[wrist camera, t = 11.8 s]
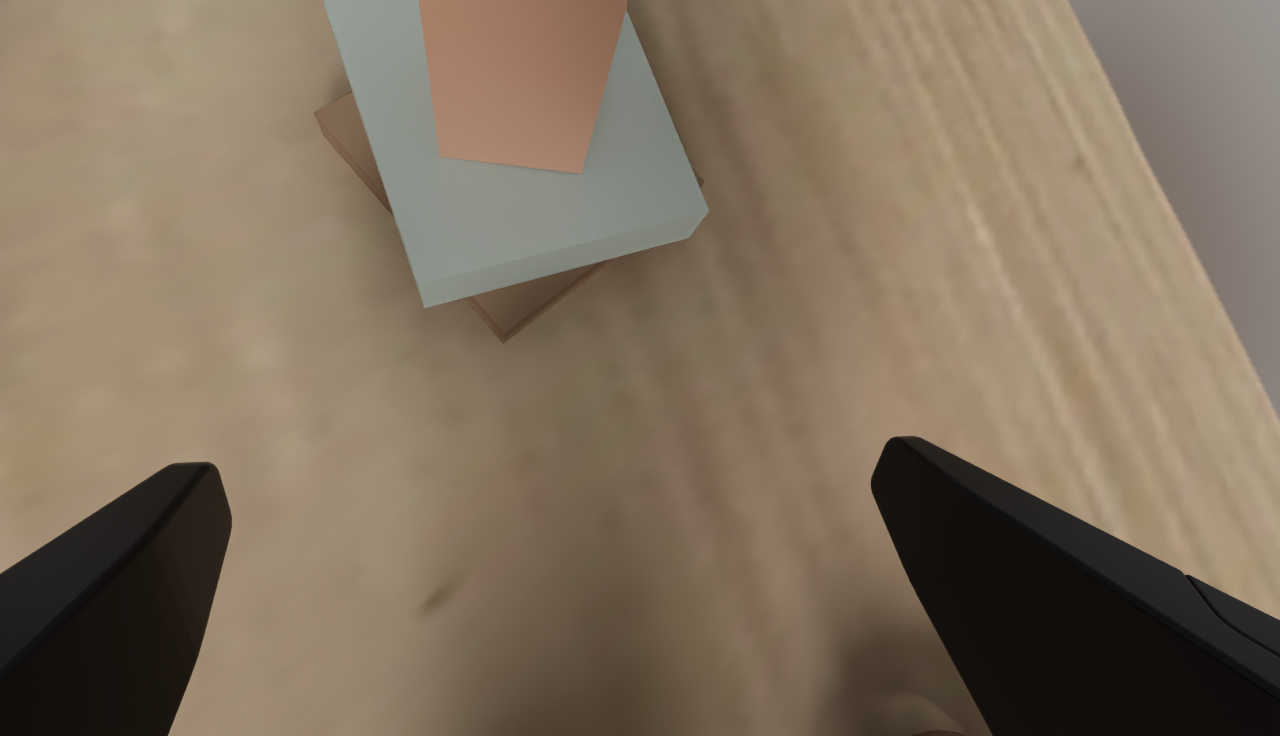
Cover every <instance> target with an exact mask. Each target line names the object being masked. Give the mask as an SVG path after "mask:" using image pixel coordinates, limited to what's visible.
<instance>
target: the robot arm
mask: <svg viewBox="0 0 1280 736" xmlns="http://www.w3.org/2000/svg"><path fill="white" fill-rule="evenodd" d="M871 490H872V494H873V496H874V499H875V501H876V503H877V506H878V508H879V510H880V513H881V515H882V517H883V520H884V522H885V525H886V527H887V529H888V532H889V534H890V536H891V539H892V541H893V543H894V546H895V548H896V551H897V553H898V555H899V558H900V560H901V562H902V565H903V567H904V569H905V572H906V574H907V576H908V578H909V580H910V583H911V584H912V586H913V588H914V590H915V592H916V594H917V596H918V598H919V600H920V602H921V604H922V606H923V607H924V609H925V611H926V613H927V615H928V617H929V618H930V620H931V622H932V624H933V626H934V628H935V630H936V631H937V633H938V635H939V637H940V639H941V641H942V643H943V644H944V646H945V648H946V650H947V652H948V654H949V655H950V657H951V659H952V661H953V663H954V665H955V667H956V668H957V670H958V672H959V674H960V676H961V678H962V680H963V681H964V683H965V685H966V687H967V689H968V691H969V692H970V694H971V696H972V698H973V700H974V702H975V704H976V705H977V707H978V709H979V711H980V713H981V715H982V717H983V718H984V720H985V722H986V724H987V726H988V728H989V730H990V731H991V733H992V735H993V736H1280V620H1278V619H1276V618H1274V617H1272V616H1270V615H1268V614H1266V613H1264V612H1262V611H1260V610H1258V609H1256V608H1254V607H1252V606H1250V605H1248V604H1246V603H1244V602H1242V601H1240V600H1238V599H1236V598H1234V597H1232V596H1230V595H1228V594H1226V593H1224V592H1222V591H1220V590H1218V589H1216V588H1214V587H1212V586H1210V585H1208V584H1206V583H1204V582H1202V581H1200V580H1198V579H1196V578H1194V577H1192V576H1190V575H1184V574H1183V572H1182V571H1180V570H1179V569H1177V568H1175V567H1173V566H1171V565H1169V564H1167V563H1165V562H1163V561H1161V560H1159V559H1157V558H1155V557H1153V556H1151V555H1149V554H1147V553H1145V552H1143V551H1141V550H1139V549H1137V548H1135V547H1133V546H1132V545H1130V544H1128V543H1126V542H1124V541H1122V540H1120V539H1118V538H1116V537H1114V536H1112V535H1110V534H1108V533H1106V532H1104V531H1102V530H1100V529H1098V528H1096V527H1094V526H1092V525H1090V524H1088V523H1087V522H1085V521H1083V520H1081V519H1079V518H1077V517H1075V516H1073V515H1071V514H1069V513H1067V512H1065V511H1063V510H1061V509H1059V508H1057V507H1055V506H1053V505H1051V504H1049V503H1047V502H1045V501H1043V500H1042V499H1040V498H1038V497H1036V496H1034V495H1032V494H1030V493H1028V492H1026V491H1024V490H1022V489H1020V488H1018V487H1016V486H1014V485H1012V484H1010V483H1008V482H1006V481H1004V480H1002V479H1000V478H998V477H996V476H995V475H993V474H991V473H989V472H987V471H985V470H983V469H981V468H979V467H977V466H975V465H973V464H971V463H969V462H967V461H965V460H963V459H961V458H959V457H957V456H955V455H953V454H951V453H950V452H948V451H946V450H944V449H942V448H940V447H938V446H936V445H934V444H932V443H930V442H928V441H926V440H924V439H922V438H920V437H916V436H900V437H893V438H891V439H890V440H889V441H887V443H886V444H885V447H884V449H883V451H882V454H881V456H880V458H879V461H878V463H877V465H876V468H875V470H874V472H873V475H872V478H871ZM231 528H232V515H231V510H230V507H229V504H228V500H227V497H226V494H225V490H224V487H223V483H222V480H221V477H220V473H219V471H218V469H217V467H216V466H215V465H214V464H212V463H210V462H187V463H174V464H170V465H168V466H166V467H165V468H163V469H161V470H160V471H158V472H157V473H155V474H154V475H152V476H151V477H149V478H147V479H146V480H144V481H143V482H141V483H140V484H138V485H137V486H135V487H134V488H132V489H130V490H129V491H127V492H126V493H124V494H123V495H121V496H120V497H118V498H117V499H115V500H113V501H112V502H110V503H109V504H107V505H106V506H104V507H103V508H101V509H100V510H98V511H97V512H95V513H93V514H92V515H90V516H89V517H87V518H86V519H84V520H83V521H81V522H80V523H78V524H76V525H75V526H73V527H72V528H70V529H69V530H67V531H66V532H64V533H63V534H61V535H59V536H58V537H56V538H55V539H53V540H52V541H50V542H49V543H47V544H46V545H44V546H42V547H41V548H39V549H38V550H36V551H35V552H33V553H32V554H30V555H29V556H27V557H25V558H24V559H22V560H21V561H19V562H18V563H16V564H15V565H13V566H12V567H10V568H8V569H7V570H5V571H4V572H2V573H1V574H0V736H168V734H169V731H170V729H171V726H172V724H173V721H174V719H175V716H176V713H177V711H178V708H179V706H180V703H181V701H182V698H183V696H184V693H185V691H186V688H187V685H188V683H189V680H190V678H191V675H192V672H193V669H194V667H195V664H196V661H197V658H198V655H199V652H200V648H201V645H202V641H203V638H204V634H205V630H206V627H207V623H208V619H209V615H210V611H211V607H212V603H213V600H214V596H215V592H216V588H217V584H218V580H219V577H220V573H221V569H222V565H223V561H224V557H225V553H226V550H227V546H228V542H229V538H230V534H231Z"/></svg>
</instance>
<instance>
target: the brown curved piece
mask: <svg viewBox="0 0 1280 736" xmlns="http://www.w3.org/2000/svg"><path fill="white" fill-rule="evenodd" d="M913 736H965V735H962V734H958V733H955V732H948V731H929V732H925V733H921V734H917V735H913Z"/></svg>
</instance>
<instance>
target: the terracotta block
mask: <svg viewBox="0 0 1280 736" xmlns="http://www.w3.org/2000/svg"><path fill="white" fill-rule="evenodd" d="M628 1H629V0H419V6H420V14H421V21H422V29H423V36H424V44H425V51H426V59H427V66H428V73H429V81H430V88H431V96H432V103H433V111H434V118H435V126H436V133H437V140H438V148H439V155H440V157H446V158H454V159H463V160H471V161H479V162H487V163H496V164H504V165H512V166H520V167H529V168H537V169H545V170H553V171H561V172H570V173H578V174H581V173H582V170H583V166H584V162H585V159H586V155H587V151H588V148H589V144H590V140H591V137H592V133H593V129H594V126H595V122H596V118H597V115H598V111H599V107H600V104H601V100H602V96H603V93H604V89H605V85H606V82H607V78H608V74H609V71H610V67H611V63H612V60H613V56H614V52H615V49H616V45H617V41H618V38H619V34H620V30H621V27H622V23H623V19H624V16H625V12H626V8H627V5H628Z"/></svg>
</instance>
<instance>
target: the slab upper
mask: <svg viewBox="0 0 1280 736" xmlns="http://www.w3.org/2000/svg"><path fill="white" fill-rule="evenodd" d="M323 2H324V5H325V9H326V12H327V15H328V18H329V22H330V25H331V28H332V31H333V34H334V38H335V41H336V44H337V47H338V51H339V54H340V57H341V60H342V63H343V66H344V69H345V72H346V75H347V78H348V81H349V83H350V86H351V89H352V92H353V95H354V98H355V101H356V104H357V107H358V110H359V113H360V116H361V119H362V122H363V125H364V128H365V131H366V134H367V137H368V140H369V143H370V146H371V149H372V152H373V155H374V158H375V161H376V164H377V167H378V170H379V173H380V176H381V179H382V182H383V185H384V188H385V191H386V194H387V197H388V200H389V203H390V206H391V209H392V212H393V215H394V218H395V221H396V224H397V227H398V230H399V233H400V236H401V239H402V242H403V245H404V248H405V251H406V254H407V257H408V260H409V263H410V266H411V269H412V272H413V275H414V278H415V281H416V284H417V287H418V290H419V293H420V296H421V299H422V302H423V305H424V308H428V307H432V306H436V305H439V304H443V303H447V302H451V301H454V300H458V299H462V298H466V297H469V296H473V295H477V294H481V293H484V292H488V291H492V290H496V289H499V288H503V287H507V286H511V285H514V284H518V283H522V282H526V281H529V280H533V279H537V278H541V277H544V276H548V275H552V274H556V273H559V272H563V271H567V270H571V269H575V268H578V267H582V266H586V265H590V264H593V263H597V262H601V261H605V260H608V259H612V258H616V257H620V256H623V255H627V254H631V253H635V252H638V251H642V250H646V249H650V248H653V247H657V246H661V245H665V244H668V243H672V242H676V241H680V240H683V239H687V238H689V237H690V236H691V235H692V233H693V232H694V231H695V229H696V228H697V227H698V225H699V224H700V223H701V221H702V220H703V219H704V217H705V216H706V215H707V213H708V212H709V209H708V207H707V204H706V202H705V199H704V197H703V194H702V192H701V190H700V187H699V185H698V182H697V180H696V177H695V175H694V172H693V170H692V168H691V165H690V163H689V160H688V158H687V155H686V153H685V151H684V148H683V146H682V143H681V141H680V138H679V136H678V134H677V131H676V129H675V126H674V124H673V121H672V119H671V116H670V114H669V112H668V109H667V107H666V104H665V102H664V99H663V97H662V95H661V92H660V90H659V87H658V85H657V82H656V80H655V78H654V75H653V73H652V70H651V68H650V65H649V63H648V60H647V58H646V56H645V53H644V51H643V48H642V46H641V43H640V41H639V39H638V36H637V34H636V31H635V29H634V26H633V24H632V22H631V19H630V17H629V14H628V12H627V9H626V12H625V16H624V19H623V23H622V27H621V30H620V34H619V38H618V41H617V45H616V49H615V52H614V56H613V60H612V63H611V67H610V71H609V74H608V78H607V82H606V85H605V89H604V93H603V96H602V100H601V104H600V107H599V111H598V115H597V118H596V122H595V126H594V129H593V133H592V137H591V140H590V144H589V148H588V151H587V155H586V159H585V162H584V166H583V170H582V173H581V174H578V173H570V172H561V171H553V170H545V169H537V168H529V167H520V166H512V165H504V164H496V163H487V162H479V161H471V160H463V159H454V158H446V157H440V155H439V148H438V140H437V133H436V126H435V118H434V111H433V103H432V96H431V88H430V81H429V73H428V66H427V59H426V51H425V44H424V36H423V29H422V21H421V14H420V6H419V0H326V1H323Z"/></svg>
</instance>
